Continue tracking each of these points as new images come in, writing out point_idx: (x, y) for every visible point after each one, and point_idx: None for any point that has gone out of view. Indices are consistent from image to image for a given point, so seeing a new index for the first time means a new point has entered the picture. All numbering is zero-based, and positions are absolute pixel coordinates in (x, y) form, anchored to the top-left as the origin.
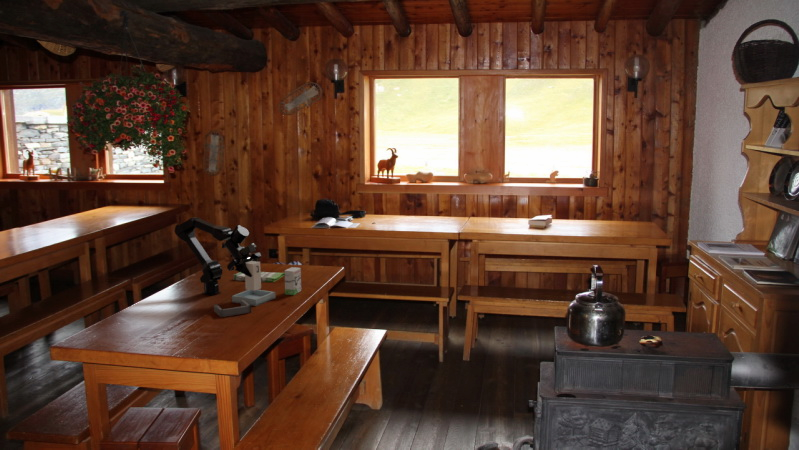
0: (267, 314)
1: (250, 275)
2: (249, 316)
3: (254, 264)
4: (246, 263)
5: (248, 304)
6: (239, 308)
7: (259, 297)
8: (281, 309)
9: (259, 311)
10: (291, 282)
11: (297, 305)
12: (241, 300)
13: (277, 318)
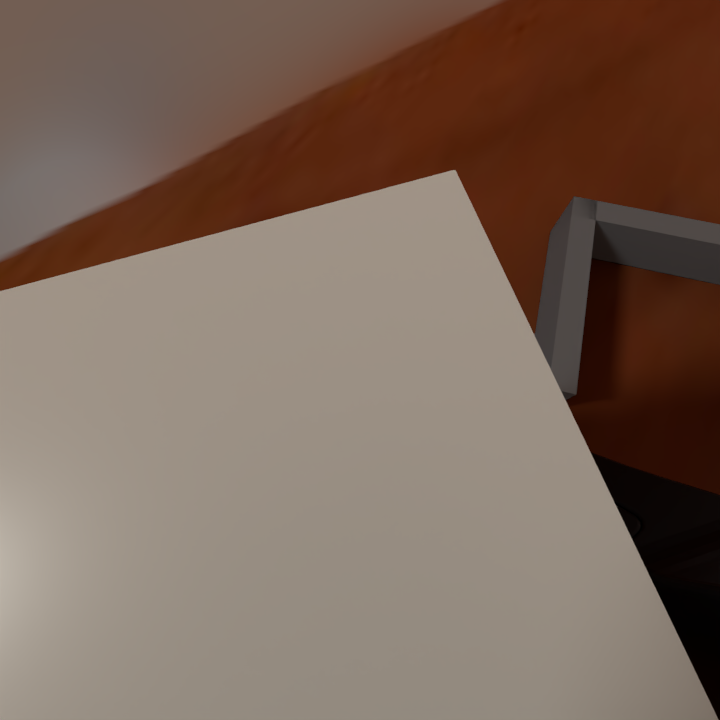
0: (482, 134)
1: None
2: (600, 172)
3: (364, 212)
4: (668, 639)
5: (574, 237)
6: (672, 221)
7: None
8: (350, 156)
9: (490, 214)
10: None
11: (217, 156)
12: (572, 386)
13: (476, 49)
